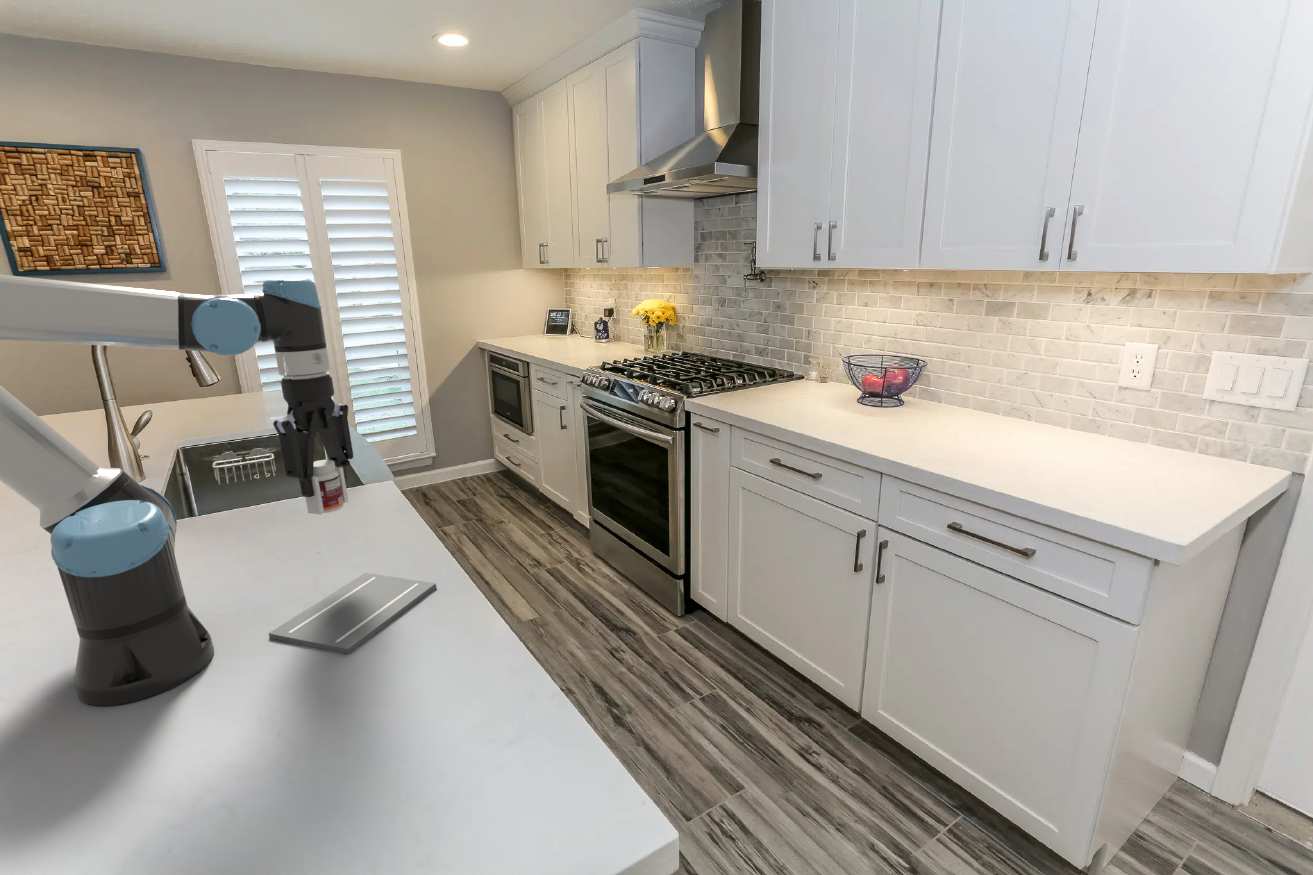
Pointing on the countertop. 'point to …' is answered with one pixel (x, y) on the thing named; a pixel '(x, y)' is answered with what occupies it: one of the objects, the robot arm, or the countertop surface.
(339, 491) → the pill bottle
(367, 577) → the slate
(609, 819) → the countertop surface
